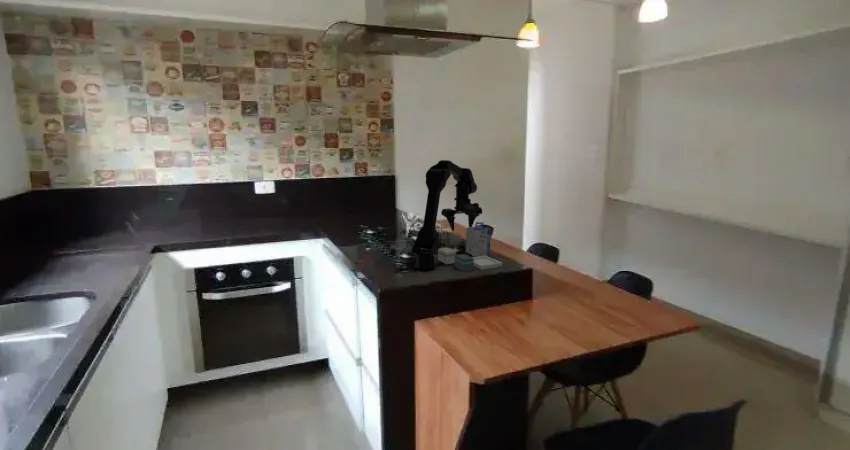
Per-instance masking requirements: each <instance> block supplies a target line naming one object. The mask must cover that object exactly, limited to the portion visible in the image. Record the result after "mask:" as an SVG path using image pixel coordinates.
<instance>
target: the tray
mask: <svg viewBox="0 0 850 450" xmlns="http://www.w3.org/2000/svg"><path fill="white" fill-rule="evenodd" d="M471 257H472V258H474V265H473V268H476V269H478V270H480V271H486V270H492V268H493V269H497V268H498V267H499V268H502V267H503V262H502V261H499V260H497V259H494V258H492V257H490V256H478V257H477V256H471ZM499 268H498V269H499Z"/></svg>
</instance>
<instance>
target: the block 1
mask: <svg viewBox="0 0 850 450" xmlns="http://www.w3.org/2000/svg"><path fill="white" fill-rule="evenodd" d="M455 255H457V252H456V250H453V249H452V248H450V247H442V248H437V260H438V261H439V262H441V263H443V264H445V265H448V264H449V265H450V264H451V265H452V264H455V260H454V258H455Z"/></svg>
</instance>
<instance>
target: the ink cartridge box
mask: <svg viewBox="0 0 850 450" xmlns="http://www.w3.org/2000/svg"><path fill="white" fill-rule="evenodd" d="M484 224H485V223H484V222H478V221H476V222H475V224H474V225H475V226H472V227H469V226H468V227H467V228H466V230H465V231H466V233H465V234H466V235H465V240H466V241H465V253H466V252H467V253H469V254H471V255H472V256H471V257H478V256H488V257H490V256H491V241H492V240H491V236H492V228H491V227H484Z"/></svg>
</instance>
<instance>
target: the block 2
mask: <svg viewBox="0 0 850 450" xmlns="http://www.w3.org/2000/svg"><path fill="white" fill-rule="evenodd" d="M472 257H473V256H469V255H466V253H461V254H456V255H455V258H454V260H455V263H454V268H456V269H457V270H459V271H461V272H462V273H465V272H472V271H474V267H473V265H474V258H472Z"/></svg>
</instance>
